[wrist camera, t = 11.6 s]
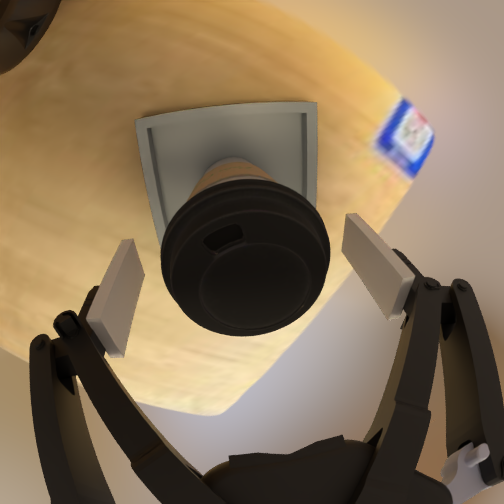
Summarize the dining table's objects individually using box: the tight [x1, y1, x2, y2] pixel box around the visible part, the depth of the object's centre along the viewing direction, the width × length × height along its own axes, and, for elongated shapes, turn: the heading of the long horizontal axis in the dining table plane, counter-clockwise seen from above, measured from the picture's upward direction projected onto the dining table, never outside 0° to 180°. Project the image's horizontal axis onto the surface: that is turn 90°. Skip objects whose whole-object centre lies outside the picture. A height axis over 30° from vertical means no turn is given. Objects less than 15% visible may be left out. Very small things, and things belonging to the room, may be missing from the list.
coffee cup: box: [161, 157, 330, 336], centre depth 20 cm, size 9×9×15 cm
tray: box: [135, 101, 317, 248], centre depth 26 cm, size 16×16×2 cm
